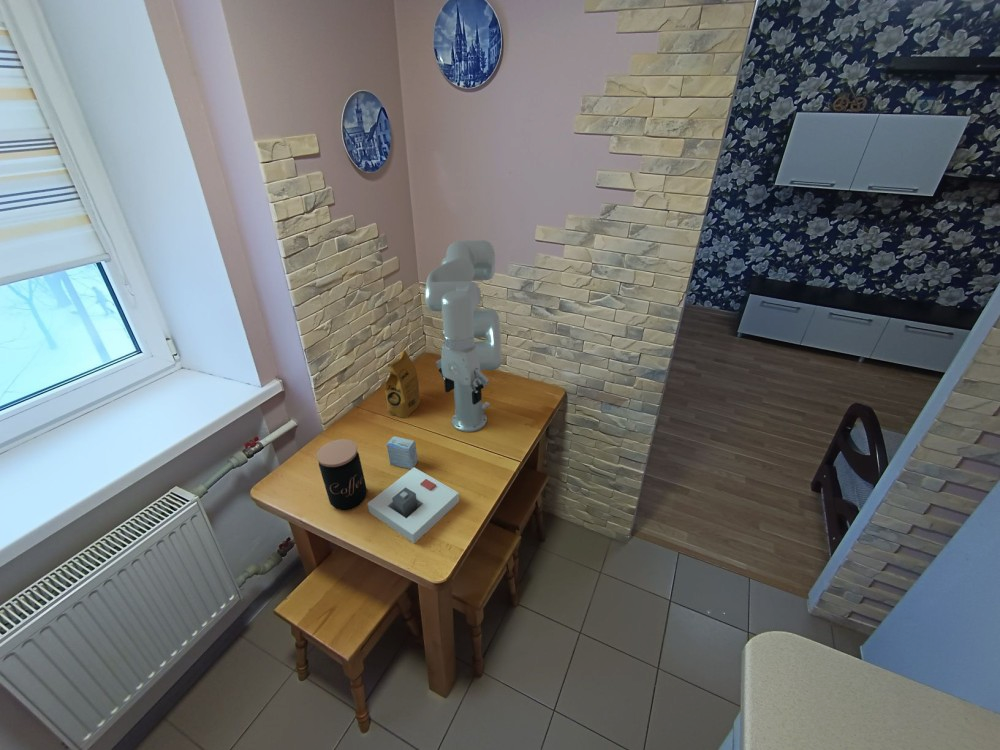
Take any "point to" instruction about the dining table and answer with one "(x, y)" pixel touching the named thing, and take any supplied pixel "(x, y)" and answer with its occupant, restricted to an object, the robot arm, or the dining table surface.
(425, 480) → the socket plate
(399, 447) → the medicine box
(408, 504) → the plug
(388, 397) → the coffee package
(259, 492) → the dining table surface
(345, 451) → the coffee jar
